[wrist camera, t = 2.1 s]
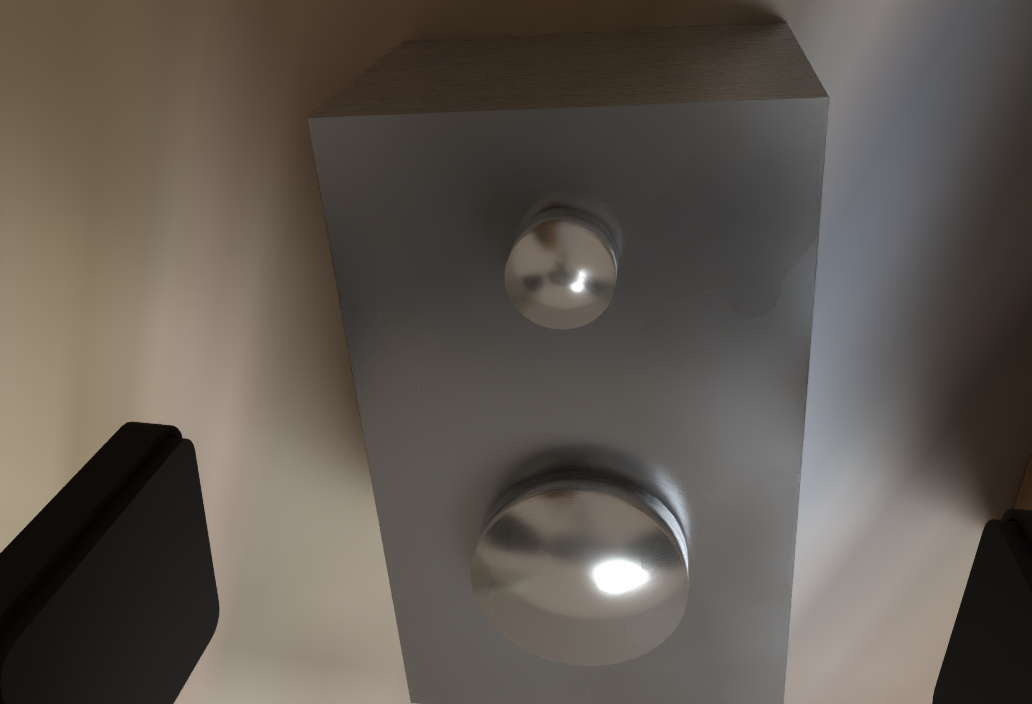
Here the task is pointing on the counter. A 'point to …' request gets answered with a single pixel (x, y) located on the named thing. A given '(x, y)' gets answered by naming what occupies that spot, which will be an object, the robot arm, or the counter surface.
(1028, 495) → the stand
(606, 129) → the housing
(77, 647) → the robot arm
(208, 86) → the counter surface
